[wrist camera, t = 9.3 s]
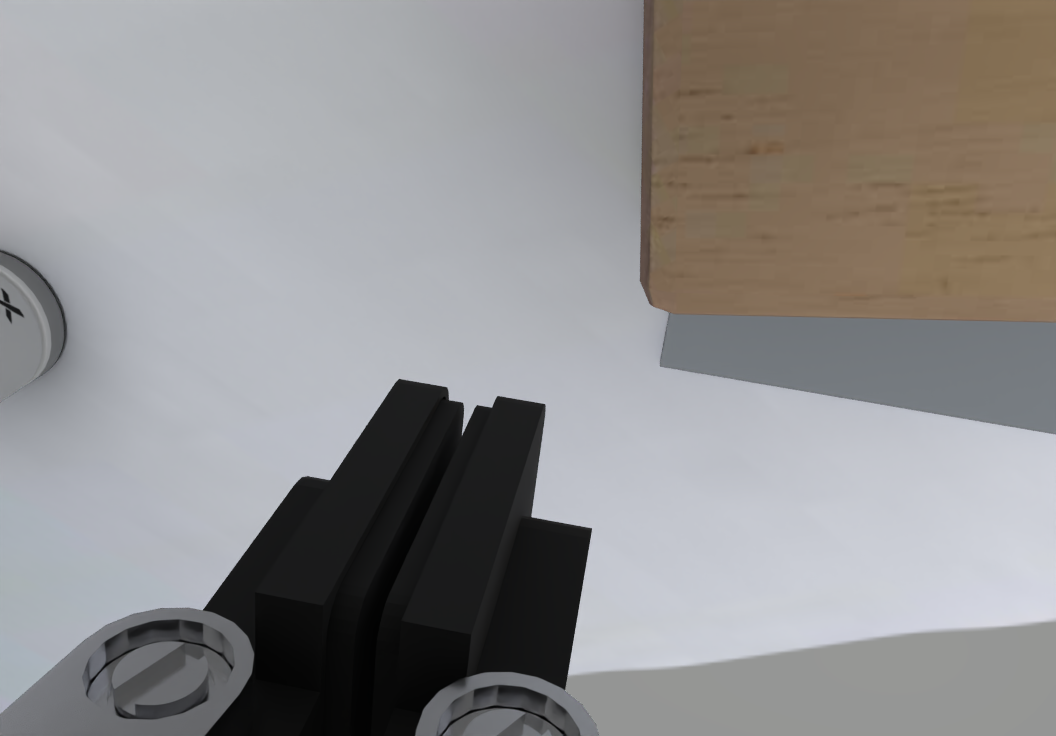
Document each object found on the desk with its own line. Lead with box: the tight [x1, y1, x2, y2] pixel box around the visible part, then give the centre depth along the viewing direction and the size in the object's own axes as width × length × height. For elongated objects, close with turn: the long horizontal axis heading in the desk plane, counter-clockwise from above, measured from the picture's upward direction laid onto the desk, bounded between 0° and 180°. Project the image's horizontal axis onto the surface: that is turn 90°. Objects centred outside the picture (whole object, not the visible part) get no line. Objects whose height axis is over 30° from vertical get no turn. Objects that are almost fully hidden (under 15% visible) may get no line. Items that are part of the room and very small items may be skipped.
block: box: [640, 0, 1056, 323], centre depth 28 cm, size 10×10×20 cm
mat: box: [660, 313, 1056, 434], centre depth 34 cm, size 18×22×1 cm
